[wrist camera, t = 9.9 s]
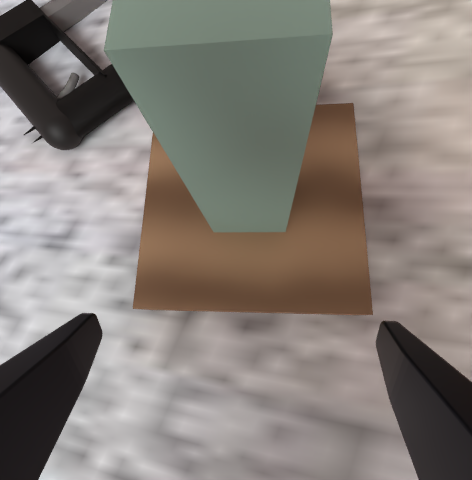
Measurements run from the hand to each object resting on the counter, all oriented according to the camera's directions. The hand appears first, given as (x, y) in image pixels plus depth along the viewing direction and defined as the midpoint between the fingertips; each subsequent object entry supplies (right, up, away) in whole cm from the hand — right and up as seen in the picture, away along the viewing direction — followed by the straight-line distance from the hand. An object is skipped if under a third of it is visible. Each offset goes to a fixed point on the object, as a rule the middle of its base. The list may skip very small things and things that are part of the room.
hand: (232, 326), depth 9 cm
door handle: (-16, +21, +19) cm, 32 cm away
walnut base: (+1, +5, +12) cm, 13 cm away
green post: (+1, +5, +10) cm, 11 cm away
